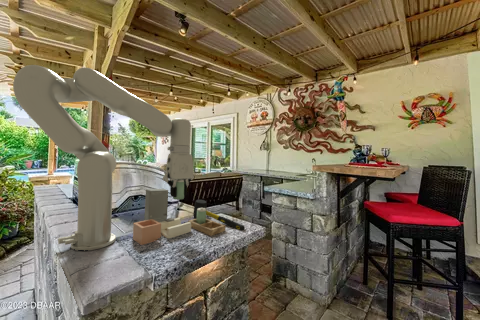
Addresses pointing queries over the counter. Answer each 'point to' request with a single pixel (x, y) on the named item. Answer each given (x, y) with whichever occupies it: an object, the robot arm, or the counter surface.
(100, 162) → the robot arm
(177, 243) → the counter surface
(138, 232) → the orange open box
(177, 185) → the cylinder
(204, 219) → the cylinder
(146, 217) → the skincare box
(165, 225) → the cradle
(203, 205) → the mallet
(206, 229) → the trough
